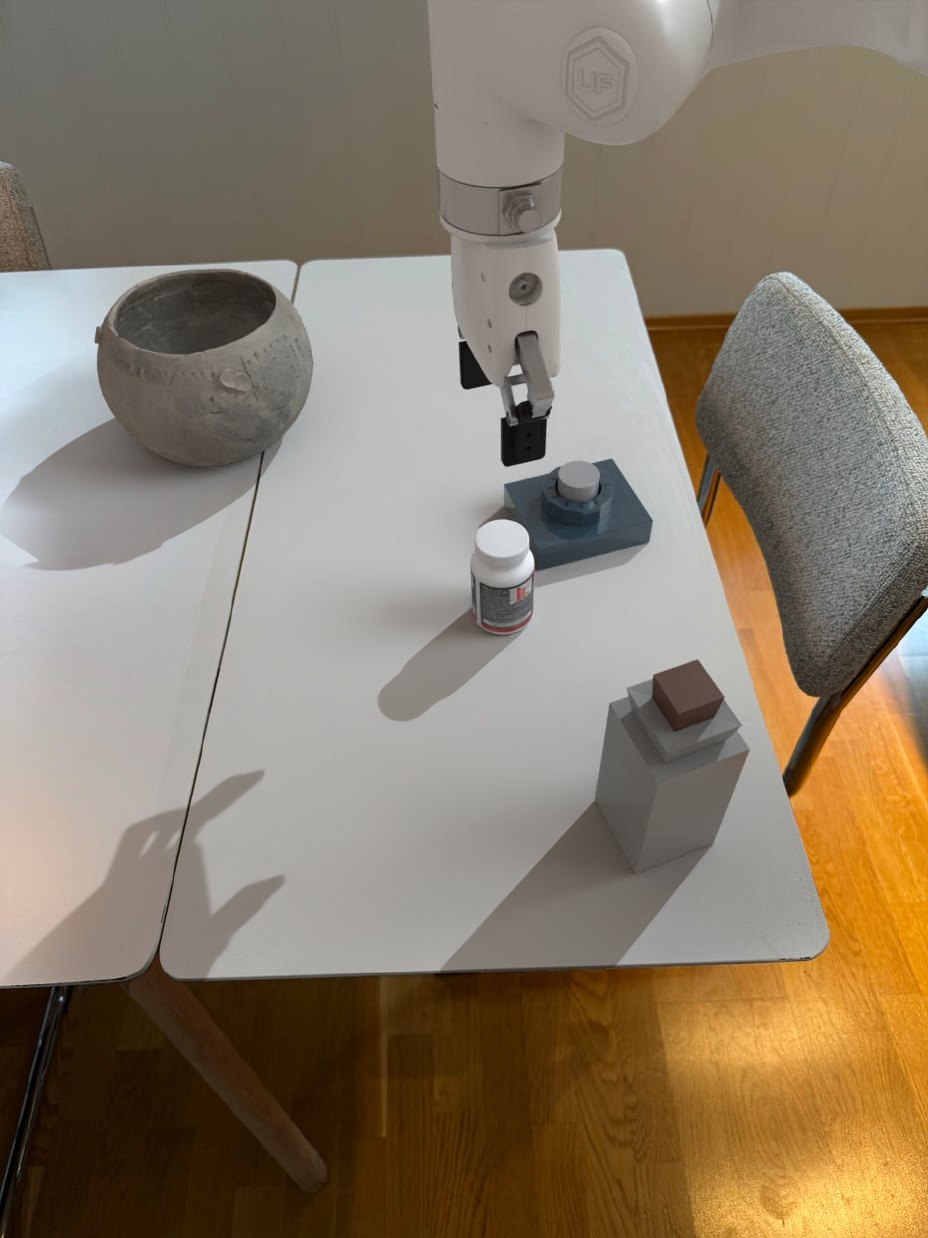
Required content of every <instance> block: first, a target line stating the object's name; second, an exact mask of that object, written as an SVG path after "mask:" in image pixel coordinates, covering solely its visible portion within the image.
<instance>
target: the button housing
mask: <svg viewBox="0 0 928 1238" xmlns="http://www.w3.org/2000/svg"><path fill="white" fill-rule="evenodd" d="M590 463H591V464H593V465H594V466H596V467H597V469H598V470H599V473H600V479H599V489H598V494H597V496H596V497H595V498H594V499H593V500H591V501H587V502H583V503H578V502H570V501H567V500H565V499H564V498H562V497H561V496H560V495H559V493H558V489H557V488H558V473H559V470H560V468H561V467H562V466H563V465H560V466H556V467H555V468H554V469H553V470H551V471H550V472H548V473H544V474H541V475H536V476H532V477H528V478H527V477H526V478H523V479H519V480H515V481H511V482H507V483H504V484H503V506H504V509H505V510H506V512H507V514H508V516H509V518H510V521H514V522H516V523H518V524H520V525H522V526H523V527H524V528H525V529H526V531H527V533H528V535H529V550H530V551H531V553H532V555H533V558H534V568H535V570H536V571H543V570H546V569H550V568H553V567H557V566H562V565H565V564H569V563H572V562H573V563H574V562H577V561H581V560H584V559H589V558H592V557H596V556H601V555H605V554H608V553H612V552H616V551H620V550H623V549H628V548H632V547H635V546H639V545H644V544H647V543H650V540H651V535H652V529H653V524H654V520H653V518H652V517H651V515H650V513H649V512H648V510H647V509H646V507H645V505H643V503H642V502H641V500H640V498H639V497H638V495H637V494H636V492H635V491H634V489H633V487H632V486H631V485H630V483H629V481H628V480H627V479H626V477H625V476H624V474H623V472H622V471H621V469H620V467H618V465H617V463H616V462H615V460H614V458H608V459H603V460H599V461H595V462H590Z"/></svg>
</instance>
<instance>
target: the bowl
mask: <svg viewBox="0 0 928 1238" xmlns="http://www.w3.org/2000/svg"><path fill="white" fill-rule="evenodd" d="M94 344H97V352H96V371H97V377H98V383H99V387H100V391H101V394H102V397H103V398H104V401H105V403H106V405H107V407H108V408H109V410H110V412H111V413H112V416H114V417H115V419H116V421H117V422H118V423H119V424H120V425H121V426H122V428H123V429H124V430H125V432H126V433H127V434H129V435H130V436H131V437H132V438H134V439H135V440H136V442H138V443H139V444H141V445H142V446H143V447H145V448H146V449H148V450H149V451H151V452H152V453H154V454H156V455H157V456H159V457H161V458H163V459H166V460H168V461H172V462H174V463H177V464H182V465H186V466H187V465H188V466H193V467H218V466H228V465H231V464H235V463H239V462H242V461H243V462H244V461H246V460H248V459H250V458H253V457H255V456H256V455H259V454H260V453H263V452H265V451H266V450H268V449H270V448H271V447H272V446H274V445H275V444H276V443H277V442H278V441H279V440H280V439H281V438H282V437H284V435H285V434H286V433H287V432H288V431H289V429H290V428H291V427H292V426H293V425H294V424H295V422H296V421H297V420H298V417H299V416H300V414H301V412H302V410H303V409H304V407H305V405H306V402H307V399H308V397H309V394H310V390H311V384H312V380H313V373H314V357H313V352H312V345H311V339H310V337H309V335H308V332H307V328H306V325H305V324H304V321H303V319H302V317H301V315H300V314H299V312H298V309H297V308H296V307H295V306H294V304H293V303H292V302H291V300H290V299H289V298H288V297H287V296H286V294H284V293H283V292H282V291H281V290H280V289H279V288H277V287H276V285H274V284H272V283H270V282H269V281H267V280H266V279H264V278H262V277H260V276H258V275H255V274H253V273H250V272H247V271H242V270H239V269H232V268H204V269H202V268H201V269H198V268H195V269H194V268H193V269H186V270H185V269H184V270H179V271H171V272H168V273H163V274H159V275H155V276H153V277H149V278H147V279H144V280H142V281H140V282H138V283H136V284H135V285H133V286H132V287H130V288H129V289H127V290H126V291H125V292H124V293H122V294H121V295H120V296H119V297H118V298H117V300H116V301H115V303H113V305H111V307H110V308H109V310H108V312H107V314H106V315H105V316H104V319H103V322H102V323H101V324H100V325H97V326H96V328H95V334H94Z"/></svg>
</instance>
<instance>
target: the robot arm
mask: <svg viewBox="0 0 928 1238" xmlns="http://www.w3.org/2000/svg"><path fill="white" fill-rule="evenodd" d="M426 1H427V19H428V20H427V21H428V35H429V53H430V54H429V55H430V56H429V57H430V74H431V88H432V90H431V91H432V106H433V107H432V108H433V123H434V138H435V140H434V141H435V154H436V155H435V156H436V180H437V195H438V209H439V210H438V212H439V222H440V224H441V225H442V227H443V229H445V231H447V232H448V233H449V234H450V269H451V270H450V271H451V292H452V303H453V312H454V317H455V321H456V324H457V334H458V337H459V339H460V340H461V341H458V360H459V361H458V362H459V363H458V364H459V382H460V386H461V387H462V389H463V390H467V391H468V390H472V389H477V388H483V387H487V386H491V385H493V386H495V387H497V388H499V390H500V395H501V396H500V397H501V400H502V405H503V409H504V415H505V416H504V417H500V462H501V464H502V465H503V466H504V467H505V468H510V467H513V466H518V465H521V464H522V465H523V464H526V463H531V462H534V461H539V460H542V459H544V458H545V456H546V450H547V430H548V429H547V428H548V419H549V418H550V415H551V411H552V410H553V405H552V404H553V403H554V400H555V389H554V385H553V383H552V380H551V378H557V376H558V375H559V374H560V371H561V366H562V283H561V282H562V281H561V265H560V256H559V245H558V239H557V232H556V230H555V228H556V227H557V225H558V224H559V223H560V221H561V217H562V205H563V204H562V203H563V183H564V181H563V180H564V163H565V162H564V158H565V138H566V134H568V135H570V136H573V137H576V138H578V139H582V140H584V141H587V142H591V143H594V144H599V145H605V146H626V145H631V144H634V143H637V142H638V143H639V142H641V141H643V140H645V139H647V138H649V137H650V136H652V135H654V134H655V133H657V132H658V131H659V130H660V129H661V128H662V127H663V126H665V125H666V124H667V122H669V120H671V118H672V117H673V116H674V115H675V113H676V112H677V111H678V110H679V109H680V108H681V106H682V105H683V104H684V103H685V101H686V100H687V99H688V97H689V96H690V95H691V94H692V93H693V91H694V90H695V89H696V88H697V86H698V85H699V84H700V82H701V81H702V80H703V79H704V78H705V77H706V75H707V74H708V73H709V72H710V71H711V70H713V69H715V68H719V67H722V66H726V65H730V64H735V63H736V64H737V63H739V62H744V61H748V60H753V59H756V58H761V57H768V56H772V55H776V54H781V53H787V52H792V51H799V50H804V49H812V48H821V47H822V48H823V47H853V48H854V47H856V48H862V49H867V50H872V51H876V52H877V53H880V54H883V55H885V56H887V57H889V58H891V59H892V60H894V61H896V62H897V63H899V64H900V65H902V66H903V67H905V68H907V69H909V70H911V71H913V72H915V73H918V74H921V75H924V76H928V0H426ZM515 366H520V369H521V373H520V374H519V373H518V374H514V375H510V373H511V370H512V368H513V367H515ZM509 375H510V376H509ZM525 384H526V389H527V392H526V393H527V394H526V400H523V401H520V402H519V403H518V404H517V405H516V400H515V395H514V390H513V387H515V386H520V385H525Z"/></svg>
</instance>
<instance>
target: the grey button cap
mask: <svg viewBox="0 0 928 1238" xmlns="http://www.w3.org/2000/svg"><path fill="white" fill-rule="evenodd" d="M591 463H592V462H588V461H585V460H572V461H568V462H566V463H564V464H562V465H561V466H562V467H561V468H560V470H559V473H558V488H557V489H558V493H559V495H560V496H561V497H562V498H564V499H565V500H567V501H570V502H578V503H583V502H587V501H591V500H593V499H594V498H595V497H596V496H597V494H598V489H599V479H600V473H599V470H598V469H597V467H596V466H594V465H593V464H591Z"/></svg>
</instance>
